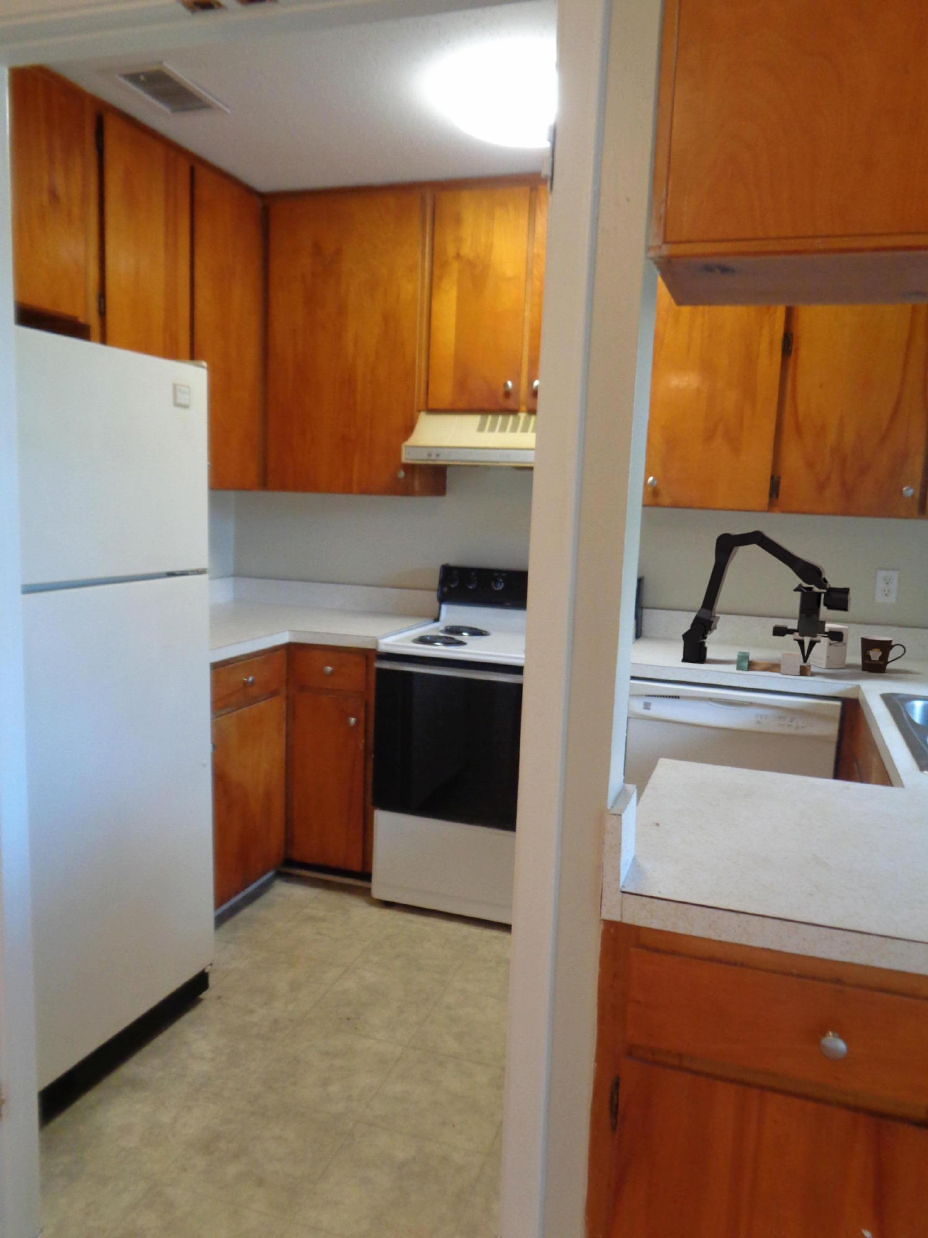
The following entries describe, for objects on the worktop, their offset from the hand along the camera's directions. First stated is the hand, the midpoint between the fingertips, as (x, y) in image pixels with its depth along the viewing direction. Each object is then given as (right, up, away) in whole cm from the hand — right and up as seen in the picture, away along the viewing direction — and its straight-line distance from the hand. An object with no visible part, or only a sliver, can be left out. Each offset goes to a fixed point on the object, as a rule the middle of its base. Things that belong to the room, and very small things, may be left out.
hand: (804, 662), depth 255 cm
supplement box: (+13, -2, +16) cm, 20 cm away
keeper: (-4, -3, +2) cm, 5 cm away
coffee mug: (+25, -3, +9) cm, 27 cm away
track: (-8, -3, +3) cm, 9 cm away
